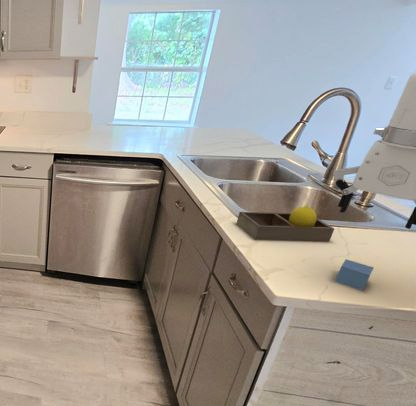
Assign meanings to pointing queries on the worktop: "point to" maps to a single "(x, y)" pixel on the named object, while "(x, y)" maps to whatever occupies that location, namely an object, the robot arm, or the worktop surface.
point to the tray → (281, 227)
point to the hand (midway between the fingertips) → (374, 218)
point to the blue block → (354, 274)
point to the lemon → (303, 217)
